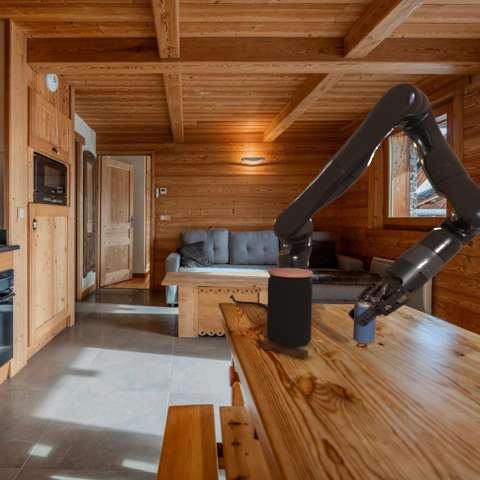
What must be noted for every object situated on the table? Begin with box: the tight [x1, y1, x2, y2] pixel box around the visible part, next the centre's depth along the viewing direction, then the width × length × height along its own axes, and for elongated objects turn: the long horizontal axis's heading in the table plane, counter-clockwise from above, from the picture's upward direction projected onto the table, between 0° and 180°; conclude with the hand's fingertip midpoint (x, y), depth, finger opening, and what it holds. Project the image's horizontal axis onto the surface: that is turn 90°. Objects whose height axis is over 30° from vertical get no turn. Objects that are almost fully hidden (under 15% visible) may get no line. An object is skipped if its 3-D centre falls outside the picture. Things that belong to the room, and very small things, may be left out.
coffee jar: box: [266, 267, 314, 348], centre depth 97 cm, size 11×11×18 cm
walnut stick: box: [258, 339, 309, 360], centre depth 90 cm, size 11×2×2 cm, turn 46°
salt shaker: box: [352, 301, 377, 344], centre depth 88 cm, size 4×4×8 cm
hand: (355, 320), depth 88 cm, fingers closed on salt shaker, 4 cm apart
